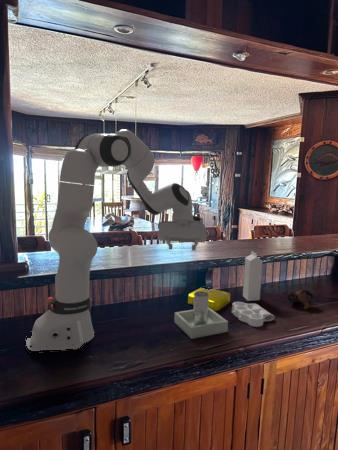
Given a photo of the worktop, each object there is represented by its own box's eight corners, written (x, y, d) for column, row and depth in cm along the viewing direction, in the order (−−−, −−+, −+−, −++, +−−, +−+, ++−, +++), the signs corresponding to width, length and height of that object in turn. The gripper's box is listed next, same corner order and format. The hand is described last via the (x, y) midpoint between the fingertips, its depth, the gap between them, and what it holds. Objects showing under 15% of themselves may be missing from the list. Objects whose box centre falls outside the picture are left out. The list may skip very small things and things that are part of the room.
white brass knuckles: (278, 324, 130) (245, 329, 126) (254, 307, 147) (224, 310, 143) (279, 316, 130) (246, 320, 125) (254, 299, 146) (224, 302, 142)
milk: (254, 295, 160) (257, 250, 156) (259, 300, 154) (263, 253, 151) (242, 296, 159) (245, 250, 155) (247, 300, 153) (250, 254, 150)
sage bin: (191, 338, 116) (191, 328, 116) (174, 322, 129) (174, 312, 128) (227, 331, 122) (228, 321, 122) (207, 316, 135) (208, 307, 134)
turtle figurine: (303, 301, 155) (313, 289, 151) (309, 317, 148) (320, 305, 143) (280, 295, 154) (289, 283, 149) (285, 311, 146) (294, 299, 141)
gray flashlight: (197, 329, 122) (198, 295, 120) (190, 323, 127) (191, 290, 125) (210, 326, 124) (211, 293, 122) (202, 320, 129) (204, 289, 127)
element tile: (186, 304, 149) (186, 293, 148) (202, 294, 161) (203, 285, 160) (216, 312, 140) (216, 301, 139) (231, 302, 152) (232, 292, 151)
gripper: (158, 216, 140) (156, 243, 132) (206, 218, 141) (208, 245, 132) (157, 225, 145) (156, 252, 137) (204, 227, 146) (206, 254, 137)
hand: (182, 249), depth 135 cm, fingers open, 8 cm apart
